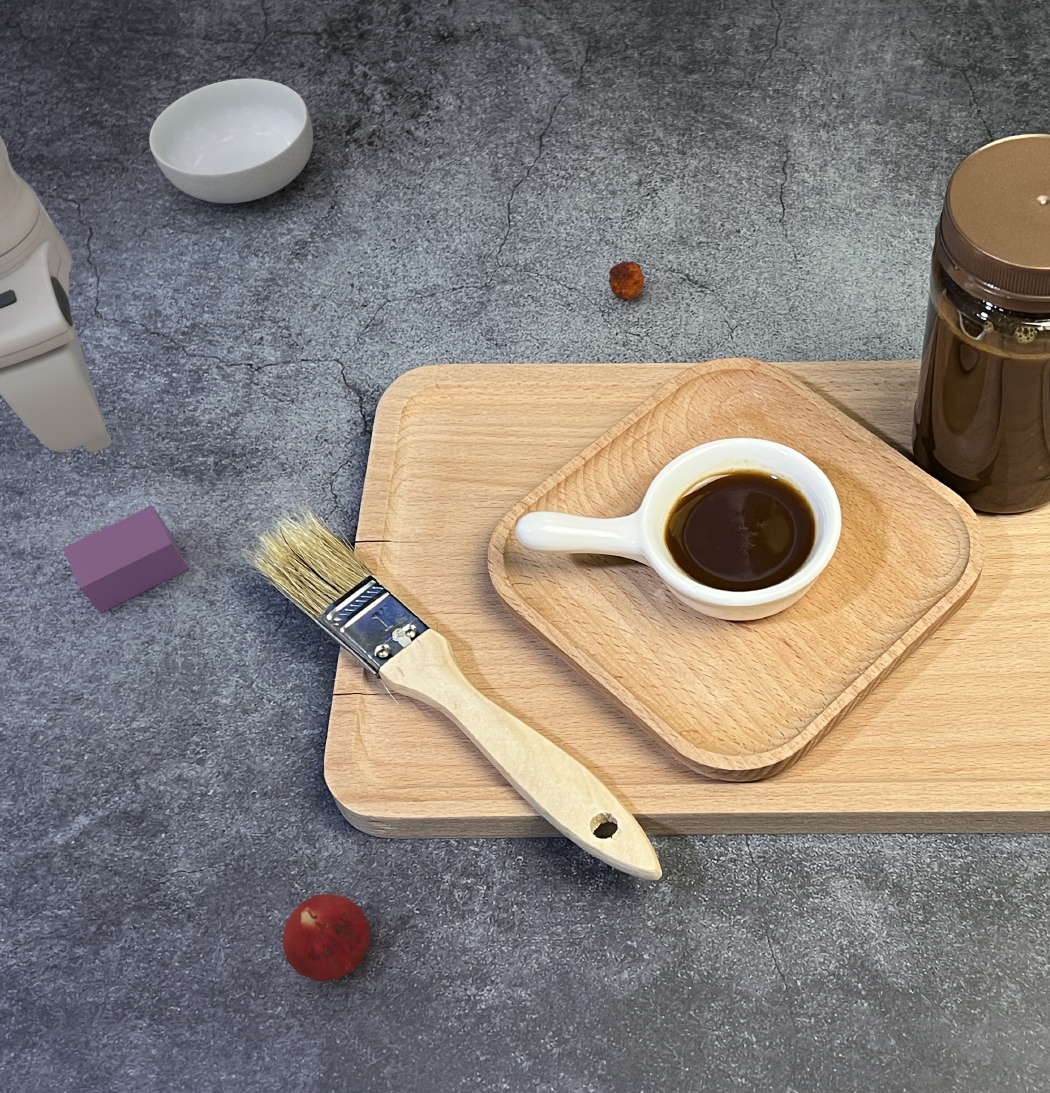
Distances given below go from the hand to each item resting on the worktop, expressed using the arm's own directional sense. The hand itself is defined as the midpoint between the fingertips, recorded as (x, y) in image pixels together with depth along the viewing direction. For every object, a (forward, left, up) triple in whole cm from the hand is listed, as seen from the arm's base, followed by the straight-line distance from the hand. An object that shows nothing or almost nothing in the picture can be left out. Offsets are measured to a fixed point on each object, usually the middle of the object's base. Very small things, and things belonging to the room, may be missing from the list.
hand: (86, 399), depth 96 cm
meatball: (+47, +13, -22) cm, 54 cm away
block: (-5, +2, -22) cm, 23 cm away
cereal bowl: (+17, +50, -22) cm, 57 cm away
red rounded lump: (+2, -39, -22) cm, 45 cm away
